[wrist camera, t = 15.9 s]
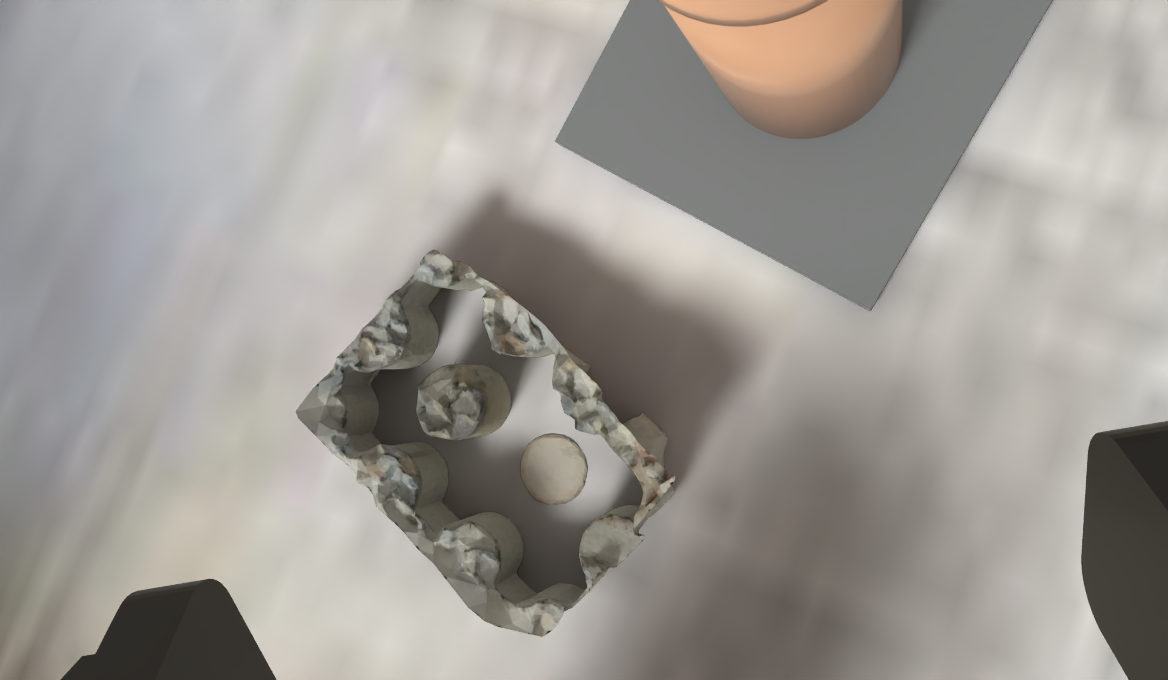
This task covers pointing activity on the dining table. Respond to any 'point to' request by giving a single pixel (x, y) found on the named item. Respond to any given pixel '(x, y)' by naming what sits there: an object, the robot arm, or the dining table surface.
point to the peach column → (796, 58)
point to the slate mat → (802, 166)
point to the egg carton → (470, 409)
